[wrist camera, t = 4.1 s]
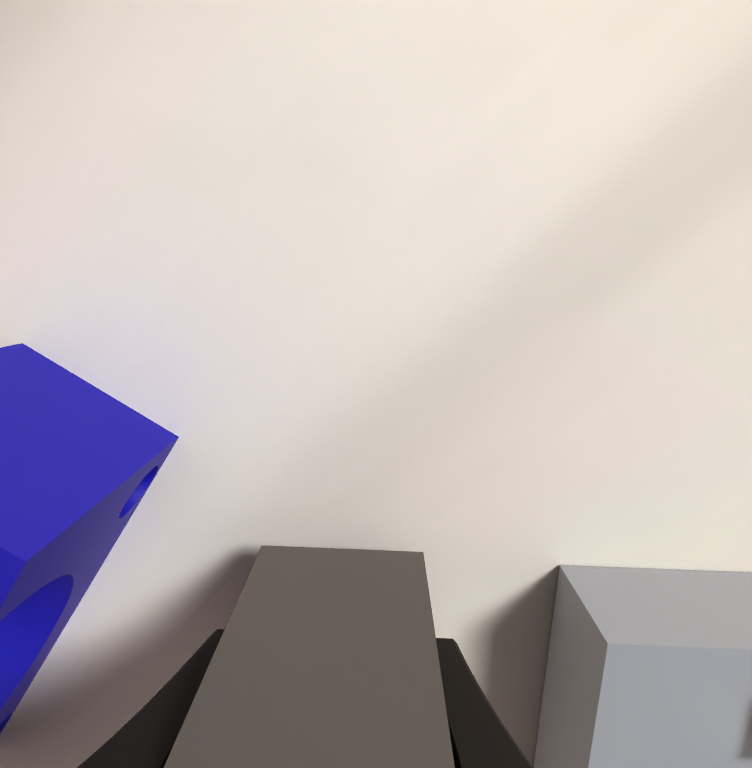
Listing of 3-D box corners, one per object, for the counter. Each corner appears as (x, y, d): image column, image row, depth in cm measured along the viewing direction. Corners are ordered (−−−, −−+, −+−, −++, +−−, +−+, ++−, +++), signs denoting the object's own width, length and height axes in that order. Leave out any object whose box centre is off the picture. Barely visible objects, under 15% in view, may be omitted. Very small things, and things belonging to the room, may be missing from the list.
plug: (422, 551, 12) (474, 895, 6) (414, 688, 13) (448, 1132, 6) (261, 545, 12) (114, 880, 6) (263, 682, 13) (137, 1116, 6)
